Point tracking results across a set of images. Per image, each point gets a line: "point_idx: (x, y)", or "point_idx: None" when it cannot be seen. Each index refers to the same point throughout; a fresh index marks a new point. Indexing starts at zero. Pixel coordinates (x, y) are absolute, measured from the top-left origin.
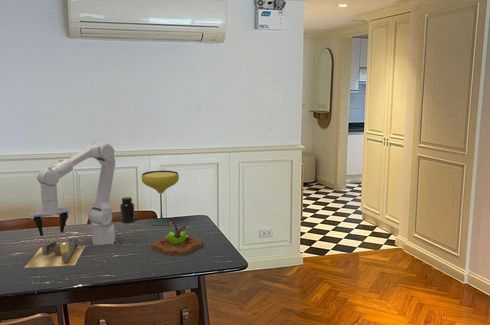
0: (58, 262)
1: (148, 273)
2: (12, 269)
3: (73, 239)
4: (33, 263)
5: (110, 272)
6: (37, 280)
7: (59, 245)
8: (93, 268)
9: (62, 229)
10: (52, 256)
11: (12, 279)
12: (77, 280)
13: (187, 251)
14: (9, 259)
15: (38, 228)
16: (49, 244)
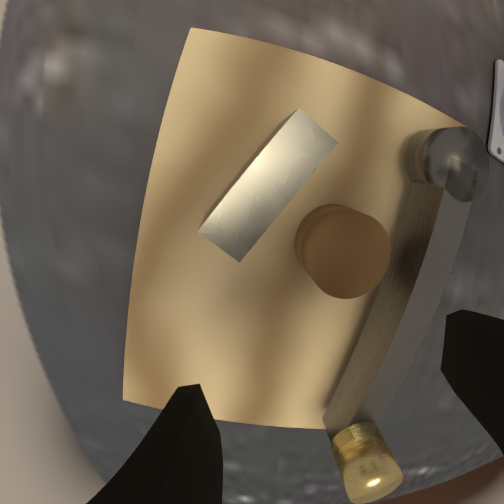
0: (303, 388)
1: (489, 455)
2: (64, 353)
3: (465, 164)
4: (159, 360)
5: (437, 456)
6: None
7: (353, 214)
8: (416, 431)
9: (468, 398)
10: (276, 273)
11: (107, 451)
12: (337, 497)
13: None
14: (14, 177)
15: (144, 459)
16: (271, 221)
